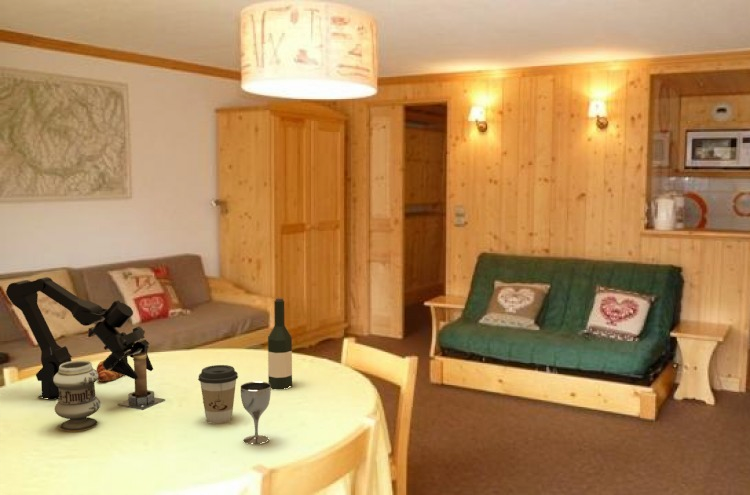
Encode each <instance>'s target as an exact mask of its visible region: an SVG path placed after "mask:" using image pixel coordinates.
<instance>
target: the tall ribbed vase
mask: <svg viewBox="0 0 750 495" xmlns="http://www.w3.org/2000/svg"><path fill="white" fill-rule="evenodd" d="M146 357H147V356H146V353H136V354H134V355H133V358H132V360H133V359H134V360H133V370H134V371H135V373H136V374H137V376H138V378H137V379H134V392H135V397H144V396H147V390H148V379H147V378H148V376H147V373H148V372H147V369H146Z"/></svg>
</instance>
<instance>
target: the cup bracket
mask: <svg viewBox="0 0 750 495" xmlns="http://www.w3.org/2000/svg"><path fill="white" fill-rule="evenodd" d="M127 397H128V399H127V400H124V401H122V402H119V403H117V406H119V407H123V408H124V407H125V408H130V409H134V410H135V409H137V410H141V411H144V410H146V409H148V408H151V407H153V406H155V405H157V404H159V403H160V404H161V403H163V402H164V401H166V399H165V398H159V397H156V396H155V391H153V390H148V389H147V396H144V397H135V391H132V392H130V393H128V396H127Z"/></svg>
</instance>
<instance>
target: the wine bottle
mask: <svg viewBox="0 0 750 495" xmlns="http://www.w3.org/2000/svg"><path fill="white" fill-rule="evenodd" d="M292 342H293V338H292V336H291V334H290V331H289V330H288V329H287V327H286V326H285V300H284V297H276V298H275V299H274V326H273V328H272V330H271V331H270V333H269V334H268V337H267V356H268V357H267V359H268V360H267V361H268V362H267V363H268V364H267V366H268V369H267V370H268V372H267V374H268V377H267V378H268V382H267V383H269V384H270V385H271V388H272V389H271V390H274V389H284V388H288V387H289V386H292V387H293V351H292V350H293V349H292V348H293V344H292ZM288 389H289V388H288Z"/></svg>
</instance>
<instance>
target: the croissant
mask: <svg viewBox="0 0 750 495" xmlns="http://www.w3.org/2000/svg"><path fill="white" fill-rule="evenodd" d="M104 360H105V359H103V360H101V361H99V362H98V364H97V366H96V369H95V370H96V371H97V372H98V374H99V377H98V379H97V380H99V381H100V382H110V381H114V380H117V379H119V378H120V377H122V376H124V375H123V374H120V373H117V372H114V371H112V372H111V371H110V370H111V369H110V370H108V371H107V370H106V369H105V368H104V367H103V362H104ZM116 378H117V379H116Z"/></svg>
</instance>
